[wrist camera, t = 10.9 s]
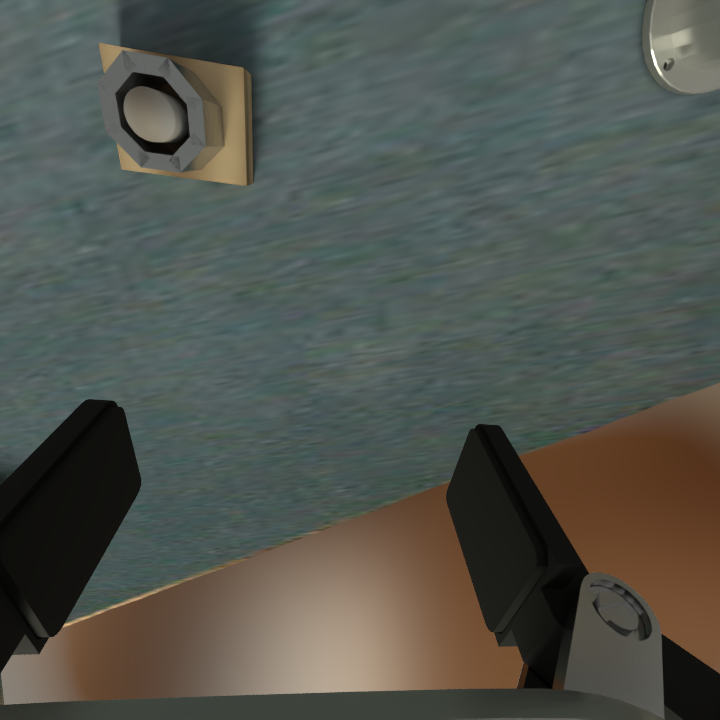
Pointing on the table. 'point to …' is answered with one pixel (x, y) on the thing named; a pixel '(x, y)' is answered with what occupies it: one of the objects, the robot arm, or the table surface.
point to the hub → (154, 75)
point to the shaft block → (170, 117)
